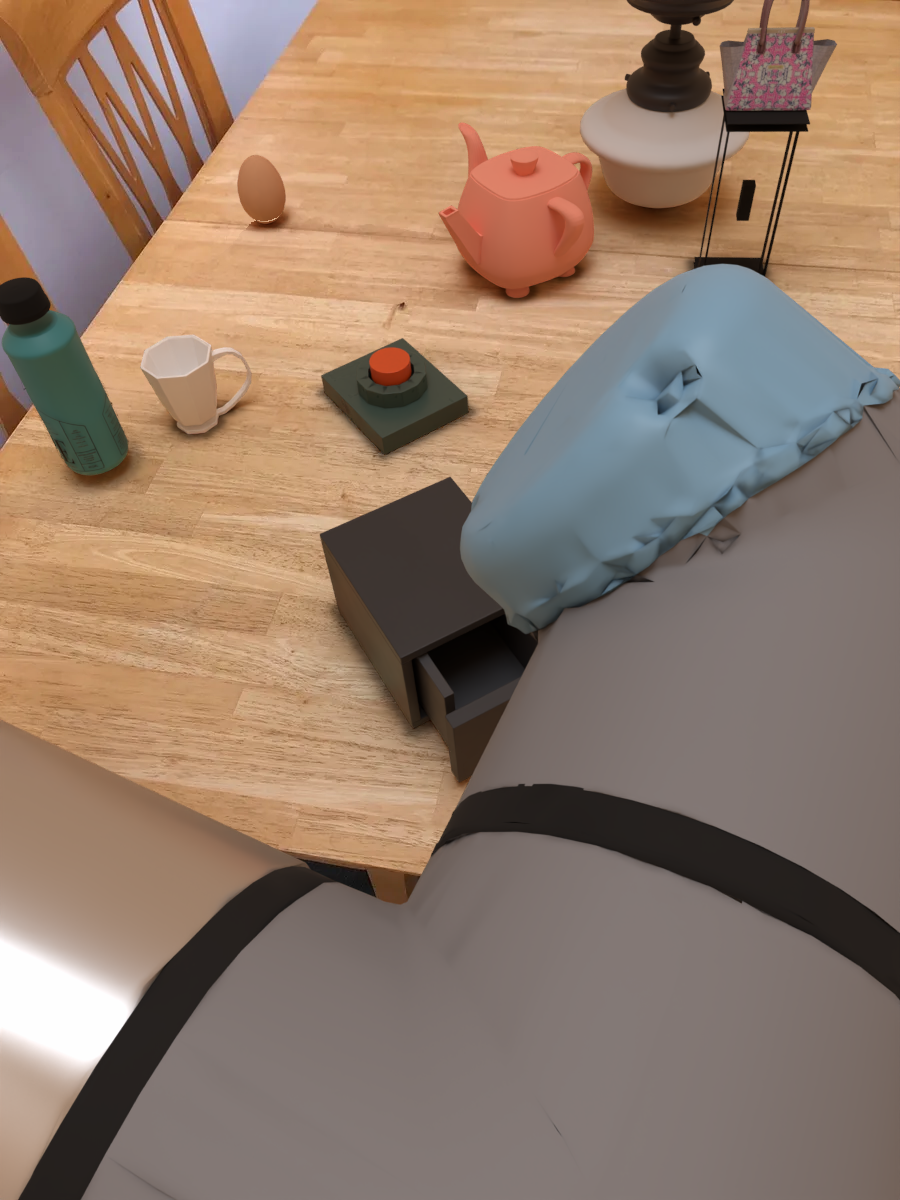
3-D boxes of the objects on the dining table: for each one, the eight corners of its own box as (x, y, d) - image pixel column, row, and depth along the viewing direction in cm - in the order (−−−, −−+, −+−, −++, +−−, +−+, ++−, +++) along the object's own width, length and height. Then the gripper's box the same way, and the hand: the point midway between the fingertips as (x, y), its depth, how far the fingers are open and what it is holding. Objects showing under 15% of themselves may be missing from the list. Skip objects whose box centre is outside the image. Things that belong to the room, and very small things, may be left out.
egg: (294, 209, 119) (281, 144, 113) (285, 233, 116) (271, 168, 109) (251, 209, 120) (236, 144, 113) (241, 233, 116) (224, 168, 110)
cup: (156, 411, 96) (131, 346, 89) (248, 381, 98) (229, 316, 92) (174, 452, 92) (148, 387, 85) (269, 419, 94) (251, 354, 88)
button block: (324, 392, 96) (317, 360, 93) (404, 354, 99) (401, 323, 96) (384, 455, 90) (379, 423, 87) (468, 412, 93) (467, 381, 90)
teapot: (443, 305, 104) (435, 190, 94) (463, 225, 115) (457, 113, 104) (587, 310, 102) (595, 193, 92) (594, 228, 112) (602, 114, 102)
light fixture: (767, 220, 111) (821, -21, 91) (622, 262, 108) (646, 20, 88) (682, 150, 123) (714, -78, 103) (549, 185, 119) (555, -44, 99)
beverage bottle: (149, 452, 92) (73, 272, 76) (108, 496, 88) (19, 318, 73) (97, 436, 94) (12, 258, 78) (55, 479, 90) (-43, 301, 75)
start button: (364, 372, 92) (361, 357, 91) (397, 356, 93) (395, 342, 92) (385, 392, 90) (382, 378, 89) (419, 376, 91) (417, 361, 90)
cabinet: (540, 663, 74) (543, 588, 66) (412, 729, 71) (400, 658, 63) (456, 554, 81) (450, 475, 74) (338, 609, 78) (319, 533, 71)
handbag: (683, 300, 102) (733, -6, 79) (681, 262, 107) (727, -38, 83) (781, 302, 101) (861, -8, 78) (774, 263, 106) (848, -41, 82)
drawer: (587, 730, 69) (594, 672, 63) (467, 796, 66) (462, 742, 60) (493, 606, 76) (491, 544, 70) (381, 661, 74) (369, 601, 68)
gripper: (699, 1007, 28) (465, 841, 50) (1000, 793, 31) (655, 728, 54) (595, 787, 27) (405, 719, 50) (915, 595, 31) (602, 613, 53)
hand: (535, 724), depth 52 cm, fingers closed
